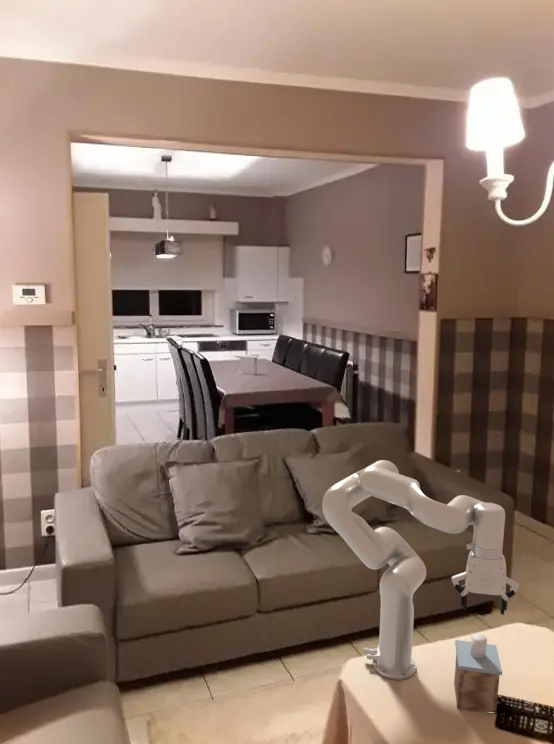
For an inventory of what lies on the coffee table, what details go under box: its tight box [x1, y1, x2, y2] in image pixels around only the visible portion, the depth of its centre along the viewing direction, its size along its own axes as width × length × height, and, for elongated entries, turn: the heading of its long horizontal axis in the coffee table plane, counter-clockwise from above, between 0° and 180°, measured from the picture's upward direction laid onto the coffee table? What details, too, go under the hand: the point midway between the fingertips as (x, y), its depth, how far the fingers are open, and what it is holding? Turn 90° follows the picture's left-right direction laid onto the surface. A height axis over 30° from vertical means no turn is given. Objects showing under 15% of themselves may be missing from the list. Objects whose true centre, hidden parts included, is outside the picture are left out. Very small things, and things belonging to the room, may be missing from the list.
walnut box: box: [453, 653, 501, 713], centre depth 176 cm, size 10×11×12 cm
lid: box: [454, 633, 503, 676], centre depth 174 cm, size 11×12×7 cm
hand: (482, 609), depth 172 cm, fingers open, 9 cm apart
